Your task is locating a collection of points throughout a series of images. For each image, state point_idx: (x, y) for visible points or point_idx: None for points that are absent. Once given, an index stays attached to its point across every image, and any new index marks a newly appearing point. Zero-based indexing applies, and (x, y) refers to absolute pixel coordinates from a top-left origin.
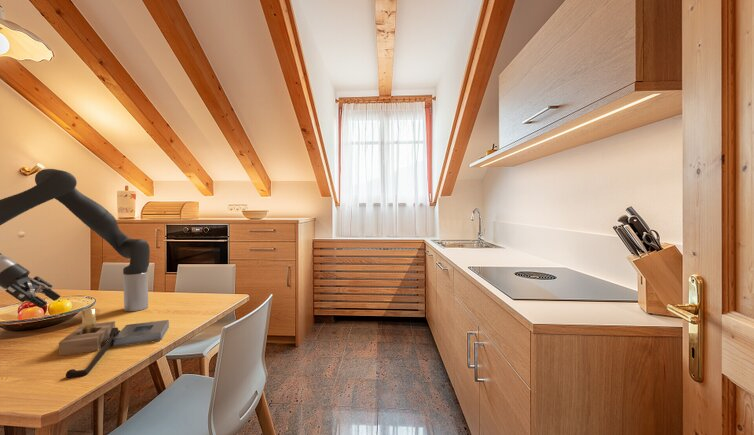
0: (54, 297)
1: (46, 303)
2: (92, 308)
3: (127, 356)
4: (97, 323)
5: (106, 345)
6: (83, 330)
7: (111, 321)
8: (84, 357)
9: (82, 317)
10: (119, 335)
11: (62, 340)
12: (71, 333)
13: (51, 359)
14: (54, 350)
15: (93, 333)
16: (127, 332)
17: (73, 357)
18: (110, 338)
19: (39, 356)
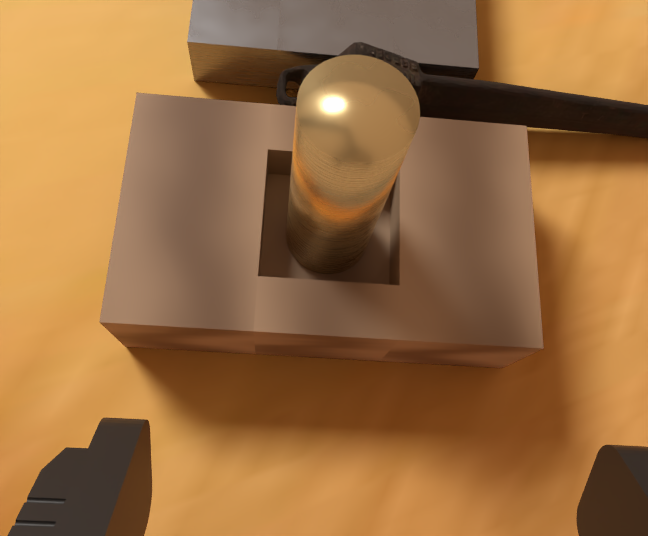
0: (136, 508)
1: (617, 448)
2: (335, 79)
3: (630, 20)
4: (133, 206)
5: (561, 93)
6: (367, 236)
7: (134, 115)
8: (575, 215)
9: (383, 188)
10: (428, 46)
11: (501, 338)
12: (340, 330)
13: (545, 395)
14: (372, 443)
15: (416, 170)
16: (384, 13)
17: (554, 275)
18: (480, 80)
19: (459, 501)
